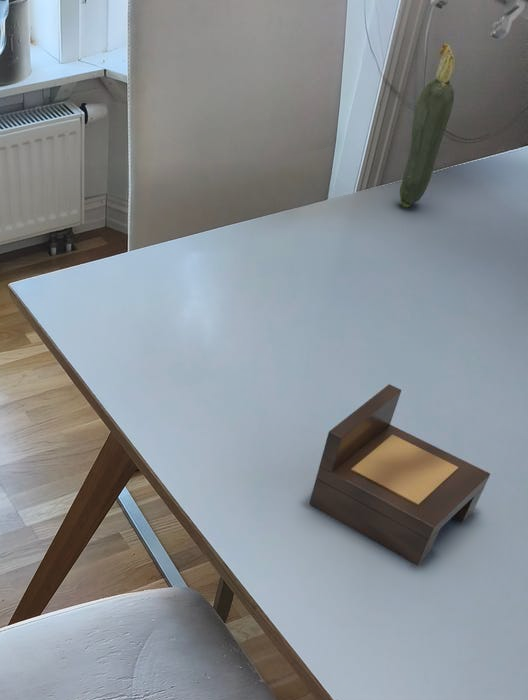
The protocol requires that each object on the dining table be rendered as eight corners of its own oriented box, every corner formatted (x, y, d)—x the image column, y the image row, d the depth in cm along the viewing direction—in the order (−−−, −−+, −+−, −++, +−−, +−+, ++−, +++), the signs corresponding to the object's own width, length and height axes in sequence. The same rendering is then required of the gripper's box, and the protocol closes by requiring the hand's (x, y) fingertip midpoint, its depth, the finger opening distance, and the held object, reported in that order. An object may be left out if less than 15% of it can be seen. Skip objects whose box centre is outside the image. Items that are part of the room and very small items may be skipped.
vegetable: (425, 215, 123) (475, 51, 107) (394, 218, 123) (440, 53, 107) (414, 201, 125) (461, 39, 110) (384, 203, 125) (427, 41, 110)
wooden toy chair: (472, 513, 85) (507, 438, 78) (417, 567, 81) (448, 493, 74) (365, 457, 91) (389, 383, 84) (308, 505, 87) (328, 431, 80)
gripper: (451, -151, 104) (418, -32, 104) (582, -72, 109) (551, 40, 110) (415, -114, 110) (385, -2, 110) (542, -41, 115) (512, 65, 116)
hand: (469, 20), depth 110 cm, fingers open, 8 cm apart
